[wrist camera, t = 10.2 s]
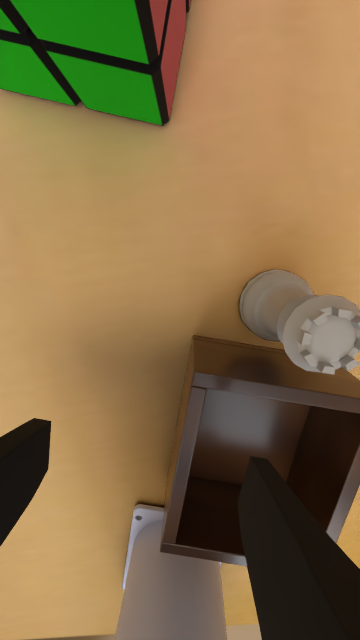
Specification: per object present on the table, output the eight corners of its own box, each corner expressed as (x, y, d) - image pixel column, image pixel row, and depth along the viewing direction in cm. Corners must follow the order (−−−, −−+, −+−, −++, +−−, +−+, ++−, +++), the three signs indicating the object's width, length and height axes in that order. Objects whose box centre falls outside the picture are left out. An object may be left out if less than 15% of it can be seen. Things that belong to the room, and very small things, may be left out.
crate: (287, 492, 21) (322, 579, 15) (167, 473, 21) (159, 552, 15) (330, 357, 18) (393, 404, 13) (192, 335, 18) (193, 371, 13)
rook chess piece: (316, 318, 18) (415, 369, 10) (253, 346, 18) (300, 414, 11) (292, 256, 17) (378, 258, 9) (226, 288, 17) (255, 315, 10)
